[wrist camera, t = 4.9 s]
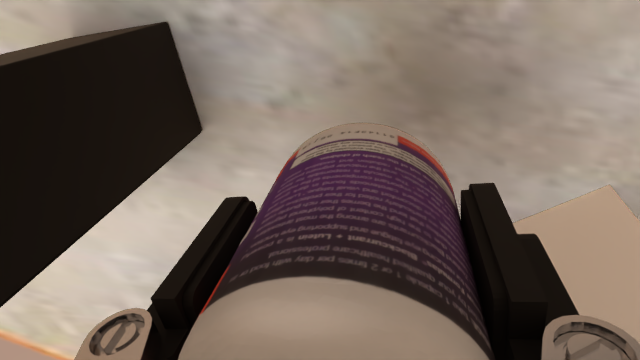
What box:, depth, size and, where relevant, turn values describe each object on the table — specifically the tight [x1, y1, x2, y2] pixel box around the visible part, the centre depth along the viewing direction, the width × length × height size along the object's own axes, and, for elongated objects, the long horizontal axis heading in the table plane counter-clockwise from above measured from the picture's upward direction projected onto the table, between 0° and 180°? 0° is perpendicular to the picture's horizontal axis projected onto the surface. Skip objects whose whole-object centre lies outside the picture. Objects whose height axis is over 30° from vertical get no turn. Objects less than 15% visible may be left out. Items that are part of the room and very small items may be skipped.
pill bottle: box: [178, 123, 495, 360], centre depth 8 cm, size 5×5×10 cm
